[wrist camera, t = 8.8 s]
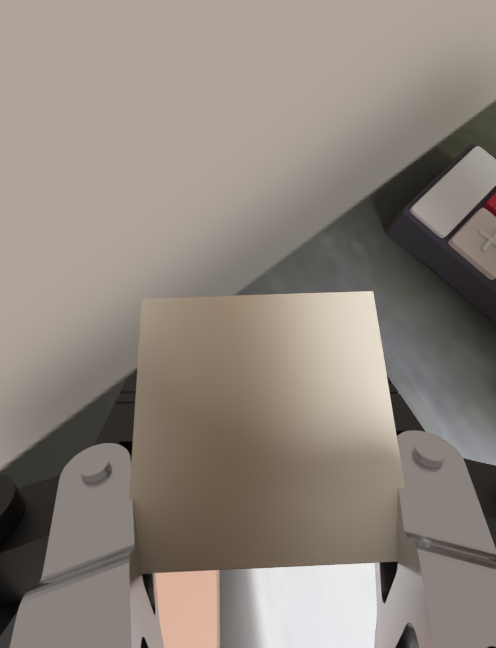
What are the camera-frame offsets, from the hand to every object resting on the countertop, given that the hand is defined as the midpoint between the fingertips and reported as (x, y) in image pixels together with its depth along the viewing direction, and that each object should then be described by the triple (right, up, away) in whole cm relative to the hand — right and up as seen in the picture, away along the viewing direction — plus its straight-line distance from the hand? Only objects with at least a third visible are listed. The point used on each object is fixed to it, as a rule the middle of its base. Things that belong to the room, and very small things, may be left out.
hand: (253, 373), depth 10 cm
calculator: (+22, +9, +21) cm, 31 cm away
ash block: (0, -3, +4) cm, 5 cm away
